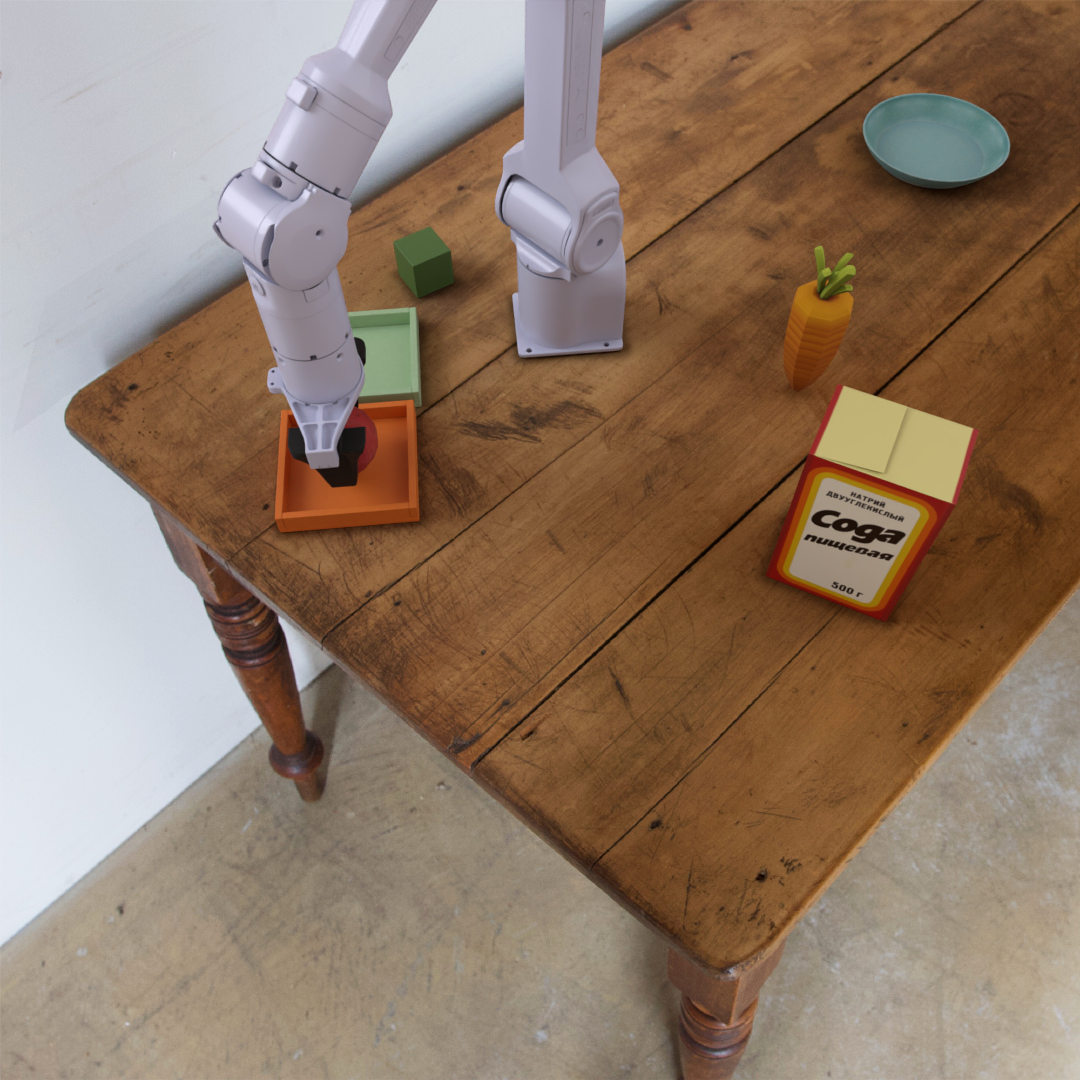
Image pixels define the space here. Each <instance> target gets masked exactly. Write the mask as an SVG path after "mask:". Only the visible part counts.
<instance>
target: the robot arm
mask: <svg viewBox="0 0 1080 1080" xmlns="http://www.w3.org/2000/svg"><path fill="white" fill-rule="evenodd" d="M437 2H438V0H354V2H353V4H352V7H351V8H350V12H349V14H348V16H347V19H346V21H345V24H344V26H343V28H342V31H341V33H340V36H339V38H338V41H337V43H336V45H335V46H334V47H333V48H330V49H328V50H325V51H322V52H319V53H315V54H313V55H310V56H309V57H307V58H305V59H304V62H303V64H302V65H301V68H300V70H299V72H298V74H297V76H294V77H292V79H291V82H290V83H289V85H288V87H287V89H286V92H285V93H284V95H285V101H284V103H283V104H282V107H281V108H280V111H279V113H278V115H277V117H276V119H275V121H274V123H273V125H272V127H271V129H270V131H269V133H268V135H267V137H266V139H265V141H264V143H263V145H262V147H261V149H260V150H259V153H258V154H257V156H256V159H255V161H254V163H253V165H252V166H251V167H250V166H249V167H247V168H244V169H242V170H240V171H238V172H236V173H235V174H234V175H233V176H232V177H230V179H229V180H227V182H226V183H225V185H224V187H223V188H222V189H221V191H220V194H219V197H218V202H217V219H216V220H215V221H214V222H213V223H212V225H211V227H212V229H213V231H214V233H215V234H216V236H217V237H218V238H219V239H220V241H222V242H223V243H224V245H227V246H228V247H229V248H230V249H233V250H236V251H237V252H238V253H239V254H240V255H241V256H242V257H241V260H242V264H243V267H244V270H245V272H246V276H247V279H248V282H249V285H250V288H251V293H252V296H253V299H254V302H255V305H256V307H257V310H258V314H259V317H260V320H261V321H262V322H261V323H262V324H263V325H262V326H263V327H264V331H265V333H266V336H267V339H268V342H269V344H270V347H271V350H272V353H273V356H274V360H275V362H276V366H275V367H271V368H270V369H269V370H268V372H267V380H266V381H267V382H266V385H267V389H268V391H269V392H270V393H271V394H274V395H276V394H278V395H279V394H280V395H281V394H282V395H284V396H285V398H286V400H287V401H286V402H287V403H288V405H289V409H291V410H292V412H293V414H294V417H295V419H296V421H297V424H298V426H299V427H296V428H289V429H288V448H289V451H290V453H291V455H292V457H293V458H294V459H296V460H299V461H302V462H304V463H306V464H308V465H310V468H311V469H315V470H316V471H317V472H318V473H319V474H320V475H321V476H322V477H323V478H324V479H325V481H326V482H327V483H328V484H329V485H330V486H331V487H332V488H336V487H348V486H355V485H357V480H358V459H359V457H360V455H361V454H362V453H363V452H364V448H365V443H366V427H352V428H344V427H345V424H346V422H347V420H348V418H349V416H350V414H351V412H352V410H353V407H354V406H355V407H357V408H358V397H359V395H360V393H361V391H362V388H363V386H364V383H365V371H364V365H365V363H366V346H365V342H364V341H363V340H362V339H360V338H358V337H354V336H353V332H352V328H351V324H350V320H349V316H348V312H349V311H348V308H347V304H346V299H345V296H344V291H343V288H342V282H341V278H340V274H339V271H338V267H337V266H338V264H339V263H340V261H341V260H342V258H343V257H345V254H346V251H347V248H348V242H349V227H348V222H349V221H348V220H349V217H350V216H351V214H352V213H353V211H352V210H351V208H352V203H351V202H350V201H349V199H350V197H351V196H352V193H353V191H354V189H355V188H356V186H357V184H358V182H359V180H360V178H361V176H362V174H363V172H364V170H365V168H366V167H367V165H368V164H369V161H370V160H371V157H372V156H373V153H374V151H375V150H376V149H377V146H378V144H379V142H380V140H381V138H382V136H383V134H384V133H385V131H386V129H387V127H388V126H389V123H390V121H391V120H392V117H393V113H394V111H393V106H392V100H391V95H390V92H389V91H390V90H389V85H388V84H389V80H390V77H391V76H392V74H393V73H394V71H395V70H396V68H397V66H398V65H399V63H400V61H401V60H402V58H403V57H404V56H405V54H406V52H407V51H408V49H409V47H410V45H411V44H412V42H413V41H414V39H415V37H416V36H417V34H418V32H420V30H421V28H422V26H423V25H424V23H425V21H426V20H427V19H428V17H429V15H430V13H431V12H432V10H433V8H434V7H435V5H436V4H437ZM606 2H607V0H524V64H523V65H524V69H523V70H524V72H523V73H524V75H523V76H524V77H523V78H524V79H523V80H524V81H523V82H524V83H523V84H524V85H523V86H524V87H523V88H524V89H523V95H524V96H523V139H522V140H520V141H519V142H517V143H516V144H514V145H513V146H512V147H511V148H509V149H508V150H507V151H506V153H504V155H503V156H502V175H501V180H500V182H499V184H498V187H497V189H496V194H495V199H494V210H495V215H496V218H497V219H498V220H499V222H500V223H502V224H503V225H504V226H505V227H508V228H510V240H511V241H512V242H513V244H514V245H515V248H516V268H517V269H516V271H517V292H514V293H513V294H512V296H511V297H512V298H511V300H512V308H513V317H514V326H515V335H516V346H517V354H518V356H519V357H520V358H523V359H524V358H525V359H526V358H538V357H540V358H541V357H551V356H565V355H566V356H567V355H578V354H589V353H590V354H591V353H603V352H604V353H605V352H615V351H621V350H622V349H623V347H624V342H623V333H624V332H623V331H624V319H625V308H626V307H625V306H626V295H627V270H626V269H627V268H626V257H625V251H624V245H623V241H622V237H623V233H624V225H625V224H624V223H625V217H624V212H623V210H622V207H621V205H620V190H621V189H620V188H621V186H620V183H619V182H618V180H617V178H616V177H615V175H614V174H613V172H612V171H611V169H610V168H609V166H608V164H607V162H606V161H605V160H604V158H603V156H602V155H601V154H600V152H599V150H598V149H597V146H596V139H597V138H596V137H597V123H598V122H597V121H598V110H599V109H598V108H599V97H600V84H601V83H600V82H601V71H602V69H601V67H602V55H603V42H604V31H605V15H606Z"/></svg>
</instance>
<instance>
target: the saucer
mask: <svg viewBox="0 0 1080 1080" xmlns="http://www.w3.org/2000/svg"><path fill="white" fill-rule="evenodd" d="M862 135H863V138H864V141H865V144H866V147H867V148H868V150H869V152H870V154H871V155H872V157H873V159H875V161H876V162H877V163H878V164H879V166H880V167H882V168H883V169H884V170H885V171H886V172H887V173H888V174H890V175H891V176H893V177H895V178H896V179H898V180H900V181H902V182H904V183H907V184H909V185H913V186H916V187H921V188H926V189H935V190H944V189H946V190H947V189H953V188H958V187H963V186H966V185H969V184H973V183H975V182H978V181H979V180H982V179H985V178H986V177H988V176H989V175H991V174H992V173H994V172H995V171H997V170H998V169H999V168H1001V166H1003V165H1004V164H1005V162H1006V161H1007V160H1008V158H1009V155H1010V152H1011V142H1010V141H1011V140H1010V137H1009V135H1008V132H1007V130H1006V128H1005V127H1004V126H1003V125H1002V123H1001V122H1000V121H999V120H998V119H997V118H996V117H995V116H993V115H992V114H991V113H990V112H988V111H986V110H985V109H984V108H981V107H979V106H978V105H976V104H974V103H971V102H970V101H967V100H964V99H961V98H958V97H954V96H950V95H945V94H938V93H933V92H932V93H928V92H915V93H912V92H911V93H904V94H900V95H895V96H893V97H890V98H886V99H884V100H882V101H881V102H878V103H877V104H876V105H875V106H873V107H872V108H871V109H870V111H869V112H868V113H867V114H866V115H865V118H864V119H863V124H862Z"/></svg>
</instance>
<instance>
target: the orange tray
mask: <svg viewBox="0 0 1080 1080" xmlns="http://www.w3.org/2000/svg"><path fill="white" fill-rule="evenodd" d="M358 408H359V409H361V410H363V411H364V412H365V413H366V414H367V415H368V416H369V417H370V419H371V420H372V421H373V422H374V424H375V426H376V429H377V436H378V449H377V451H376V454H375V457H374V459H373V460H372V461H371V462H370V464H369V465H368V466H367V467H366V468H365V469H364V470H363V471H361V472H360V473H358V480H357V485H355V486H348V487H336V488H332V487H331V486H330V485H329V484H328V483H327V482H326V481H325V479H324V478H323V477H322V476H321V475H320V474H319V473H318V472H317V471H316V470H315V469H311V468H310V465H308V464H306V463H304V462H302V461H299V460H296V459H294V458H293V457H292V455H291V453H290V451H289V448H288V429H289V428H296V427H299V426H298V424H297V421H296V419H295V417H294V414H293V412H292V410H291V408H289V409H282V410H281V411H280V427H279V440H278V441H279V443H278V459H277V473H276V475H277V476H276V491H275V506H274V520H275V523H276V525H277V528H278V530H279V533H280V534H281V533H293V532H294V533H295V532H304V531H317V530H329V529H330V530H331V529H341V528H342V529H343V528H351V527H352V528H353V527H354V528H355V527H363V526H364V527H366V526H378V525H389V524H402V523H414V522H420V498H419V497H420V495H419V493H420V491H419V467H418V466H419V464H418V437H417V435H418V431H417V412H416V407H415V406H414V401H413V400H407V401H406V400H403V401H390V402H378V403H365V404H358Z"/></svg>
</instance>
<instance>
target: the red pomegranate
mask: <svg viewBox="0 0 1080 1080" xmlns="http://www.w3.org/2000/svg"><path fill="white" fill-rule="evenodd" d="M352 427H366V443H365V448H364V452H363V453H362V454H361V455H360V457H359V459H358V473H360V472H361V471H363V470H364V469H365V468H366V467H367V466H368V465H369V464H370V462H371V461H372V460H373V459H374V457H375V454H376V451H377V449H378V436H377V429H376V426H375V424H374V422H373V421H372V420H371V419H370V417H369V416H368V415H367V414H366V413H365V412H364V411H363V410H361V409H359V408H357V407H355V406H354V407H353V410H352V412H351V414H350V416H349V418H348V420H347V422H346V424H345V427H344V428H352Z"/></svg>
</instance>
